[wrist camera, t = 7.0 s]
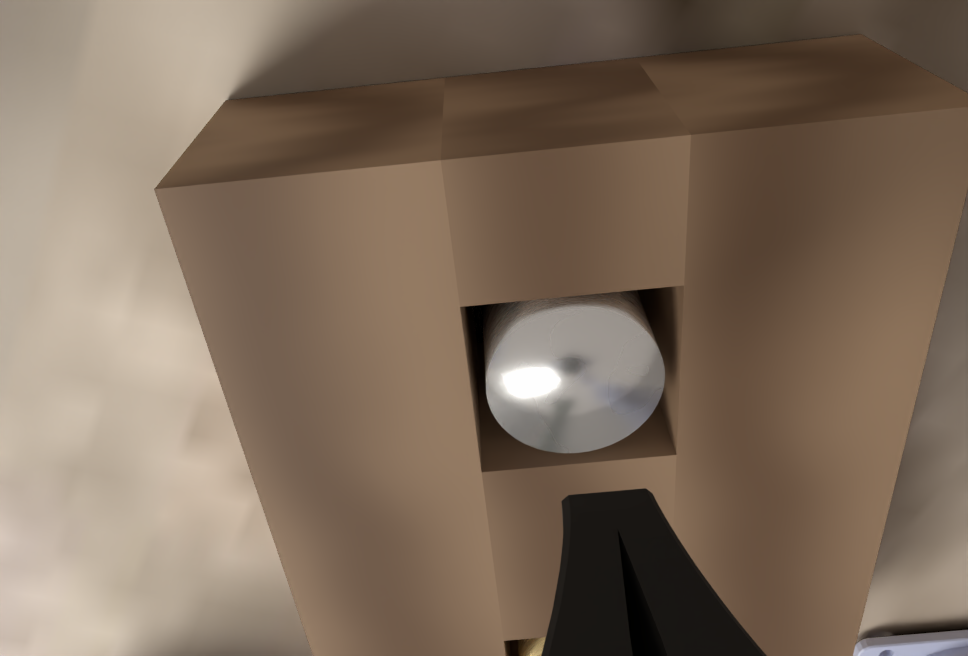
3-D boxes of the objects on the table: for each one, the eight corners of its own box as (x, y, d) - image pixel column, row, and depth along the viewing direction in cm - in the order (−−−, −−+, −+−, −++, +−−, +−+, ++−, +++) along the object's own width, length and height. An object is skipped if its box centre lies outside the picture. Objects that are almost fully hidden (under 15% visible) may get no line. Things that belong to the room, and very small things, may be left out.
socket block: (861, 34, 17) (988, 104, 13) (771, 622, 28) (826, 764, 24) (225, 100, 18) (154, 189, 14) (376, 655, 29) (362, 800, 24)
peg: (624, 199, 19) (667, 300, 15) (624, 326, 21) (662, 445, 17) (473, 214, 19) (477, 319, 15) (487, 339, 21) (494, 460, 17)
